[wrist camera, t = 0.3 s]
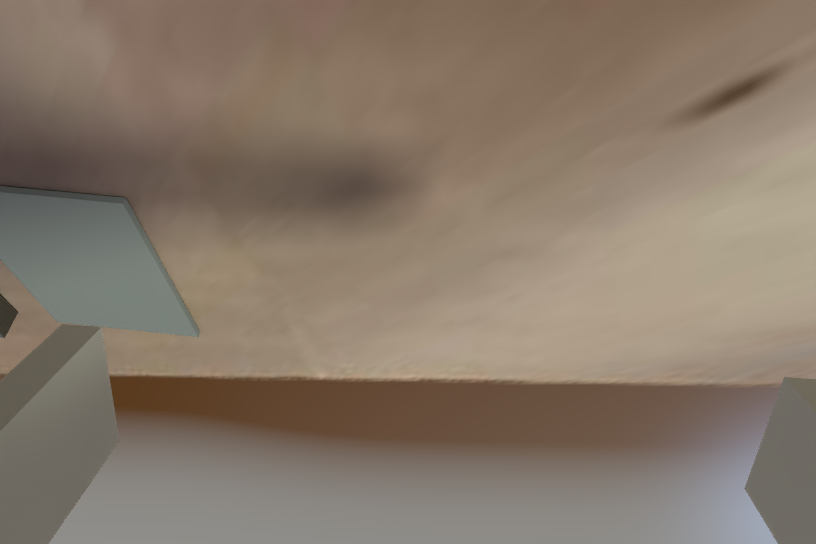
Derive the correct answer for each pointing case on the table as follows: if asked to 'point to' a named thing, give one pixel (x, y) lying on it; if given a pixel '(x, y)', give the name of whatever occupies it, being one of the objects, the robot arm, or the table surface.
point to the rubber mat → (89, 261)
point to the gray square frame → (6, 316)
